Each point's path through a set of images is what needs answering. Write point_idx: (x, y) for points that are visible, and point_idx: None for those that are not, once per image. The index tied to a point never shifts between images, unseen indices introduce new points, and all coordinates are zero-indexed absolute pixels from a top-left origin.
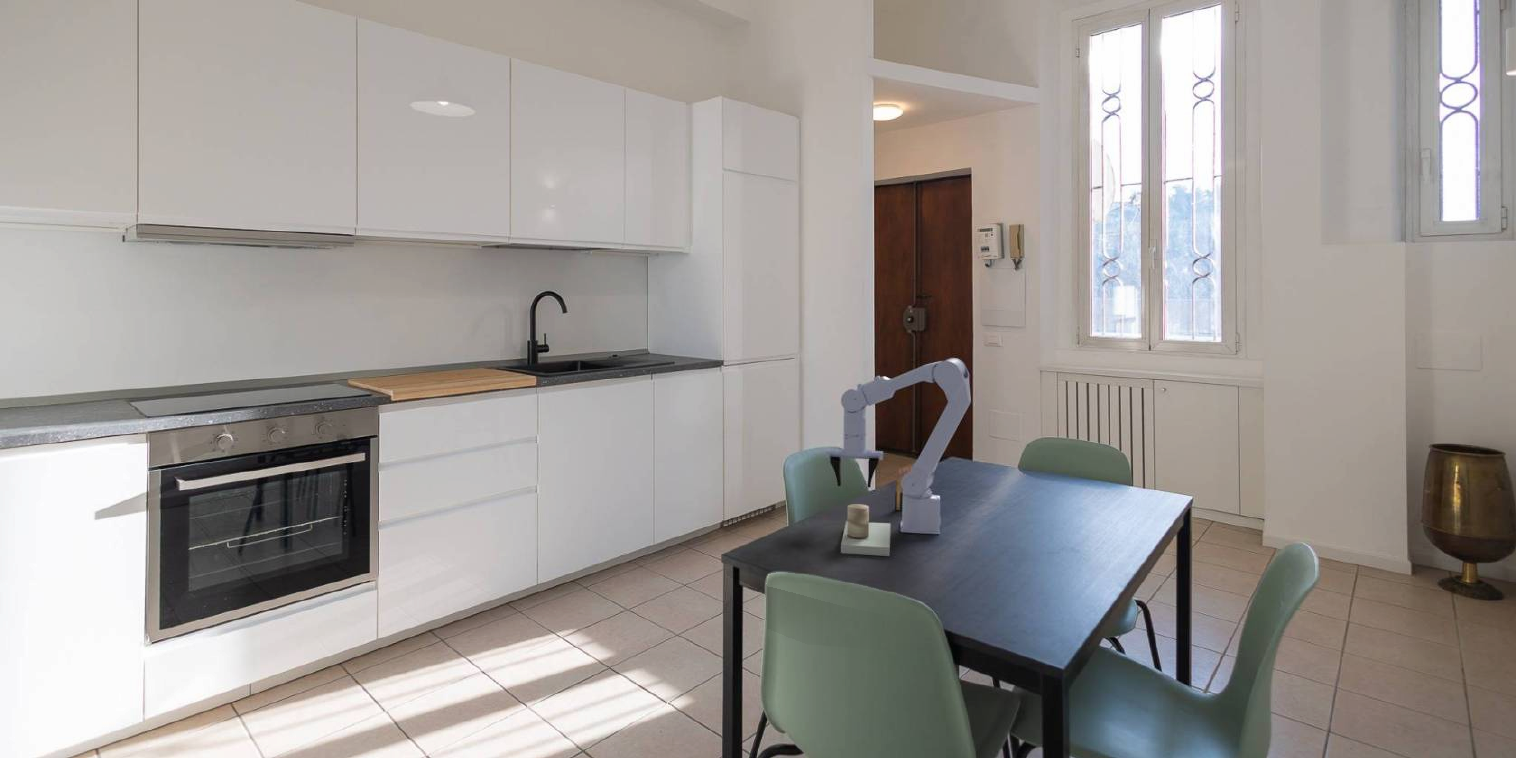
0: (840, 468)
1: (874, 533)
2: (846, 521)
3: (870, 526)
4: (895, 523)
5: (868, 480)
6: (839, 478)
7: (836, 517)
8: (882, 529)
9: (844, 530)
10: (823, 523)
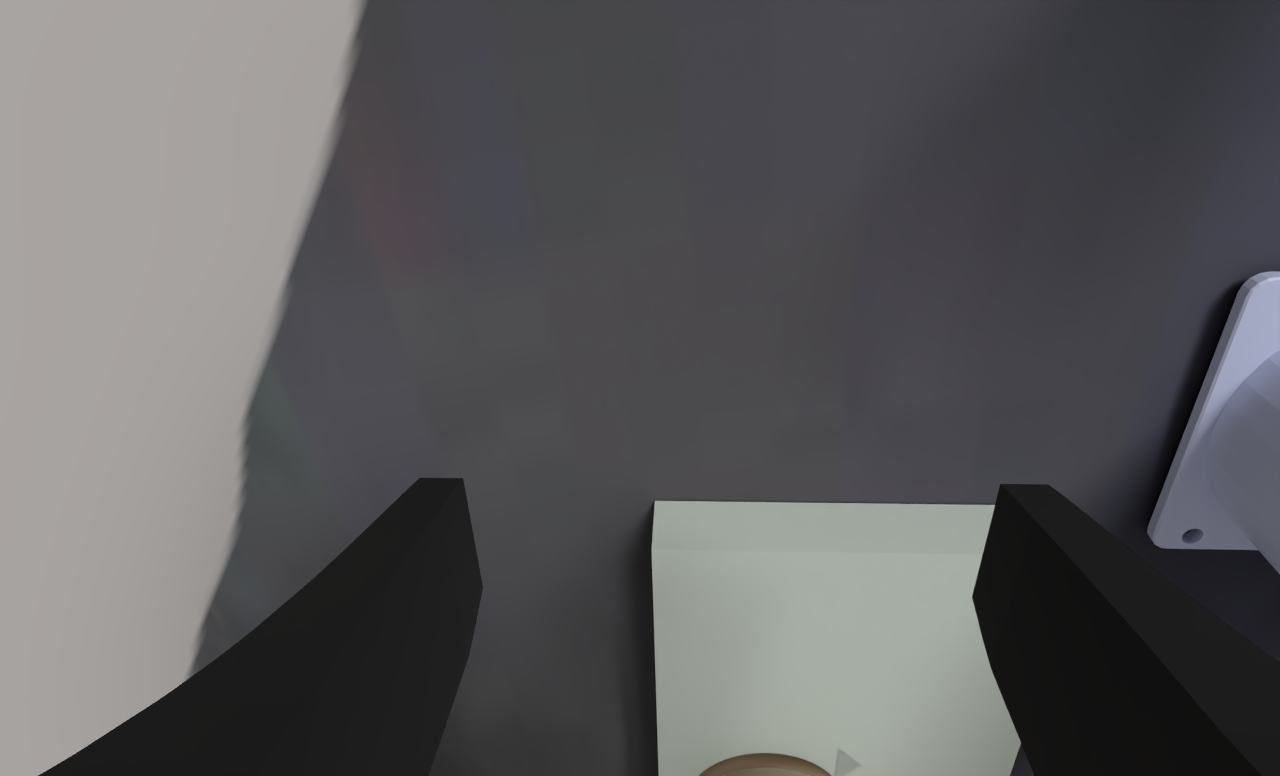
0: (317, 729)
1: (891, 760)
2: (653, 555)
3: (874, 640)
4: (1176, 275)
5: (1029, 739)
6: (432, 738)
7: (502, 169)
8: (971, 689)
9: (659, 730)
10: (421, 387)
